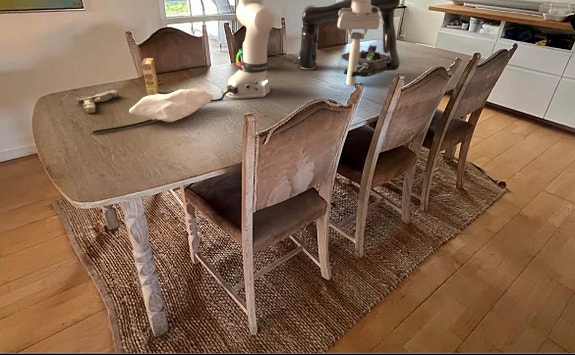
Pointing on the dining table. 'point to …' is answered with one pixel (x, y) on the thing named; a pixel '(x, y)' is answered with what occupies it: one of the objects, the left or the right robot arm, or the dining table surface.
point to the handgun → (95, 100)
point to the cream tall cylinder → (353, 61)
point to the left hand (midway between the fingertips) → (356, 38)
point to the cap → (356, 35)
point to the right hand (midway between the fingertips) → (348, 73)
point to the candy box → (150, 76)
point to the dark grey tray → (367, 55)
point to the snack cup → (240, 55)
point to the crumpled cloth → (171, 104)
